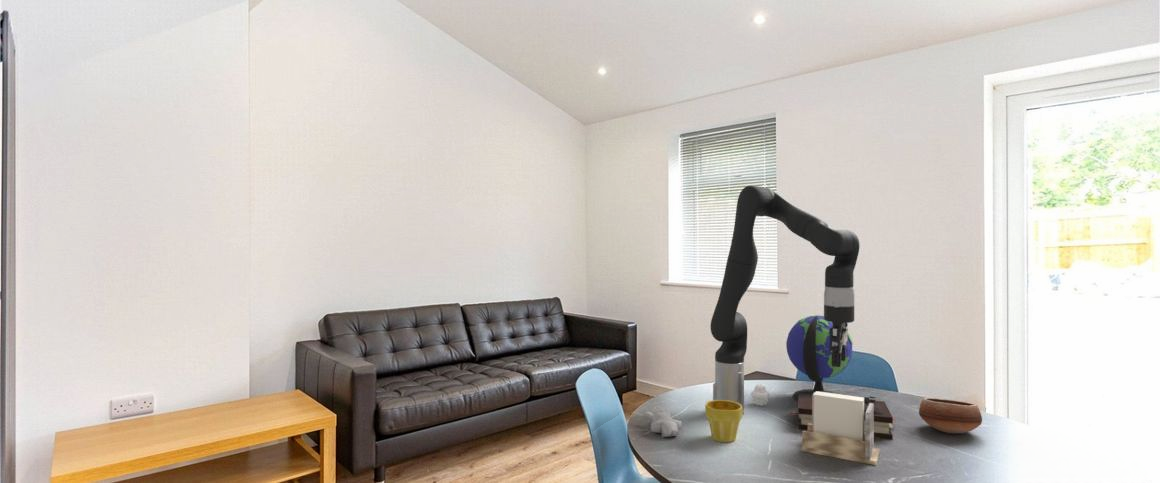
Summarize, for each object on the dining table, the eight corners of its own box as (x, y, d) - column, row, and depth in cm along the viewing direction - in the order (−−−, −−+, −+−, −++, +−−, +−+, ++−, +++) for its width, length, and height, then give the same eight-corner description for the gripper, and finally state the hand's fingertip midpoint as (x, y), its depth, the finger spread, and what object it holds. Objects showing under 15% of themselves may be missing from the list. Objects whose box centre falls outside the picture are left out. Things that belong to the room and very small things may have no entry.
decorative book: (790, 389, 188) (892, 398, 177) (790, 411, 188) (892, 422, 177) (789, 405, 170) (902, 417, 159) (789, 430, 170) (902, 443, 159)
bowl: (975, 427, 171) (975, 394, 171) (987, 445, 157) (987, 409, 157) (915, 420, 178) (916, 389, 178) (922, 436, 164) (922, 402, 163)
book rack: (801, 450, 153) (801, 403, 153) (809, 439, 161) (809, 394, 161) (876, 465, 143) (876, 414, 143) (879, 452, 152) (880, 404, 152)
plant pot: (722, 447, 156) (722, 412, 156) (697, 435, 165) (697, 402, 165) (750, 441, 160) (750, 407, 160) (725, 430, 170) (725, 397, 169)
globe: (865, 408, 191) (865, 319, 190) (799, 408, 191) (799, 319, 191) (836, 390, 213) (836, 311, 213) (777, 390, 213) (777, 311, 213)
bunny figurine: (656, 427, 161) (640, 405, 176) (656, 443, 162) (639, 421, 176) (687, 424, 163) (669, 403, 178) (687, 441, 164) (668, 418, 178)
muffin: (754, 400, 200) (754, 381, 200) (771, 403, 196) (771, 383, 196) (748, 405, 195) (748, 384, 195) (766, 408, 191) (766, 387, 191)
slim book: (812, 445, 154) (812, 394, 154) (814, 440, 158) (814, 390, 158) (862, 454, 148) (862, 401, 148) (864, 449, 151) (864, 397, 151)
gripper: (828, 300, 160) (828, 357, 160) (819, 305, 148) (819, 366, 148) (857, 301, 156) (857, 360, 156) (850, 307, 144) (850, 370, 144)
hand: (838, 363), depth 152 cm, fingers open, 8 cm apart
